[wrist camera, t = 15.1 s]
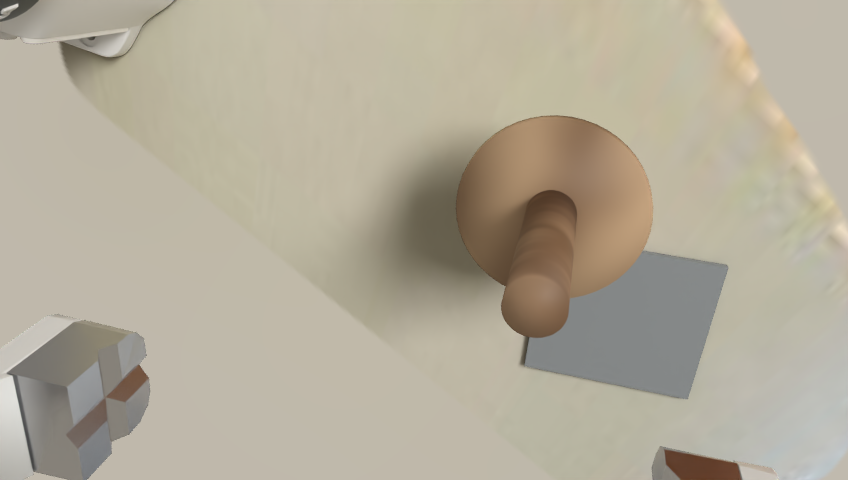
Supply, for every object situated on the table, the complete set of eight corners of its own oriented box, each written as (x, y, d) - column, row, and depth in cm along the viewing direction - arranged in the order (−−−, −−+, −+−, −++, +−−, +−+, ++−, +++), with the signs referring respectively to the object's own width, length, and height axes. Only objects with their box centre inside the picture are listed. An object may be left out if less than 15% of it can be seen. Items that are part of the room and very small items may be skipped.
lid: (448, 274, 39) (400, 384, 30) (470, 101, 35) (422, 166, 26) (627, 310, 38) (636, 438, 28) (674, 132, 33) (702, 214, 24)
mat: (524, 362, 49) (524, 366, 48) (547, 234, 44) (547, 237, 44) (686, 395, 47) (687, 399, 46) (727, 265, 43) (728, 267, 42)
